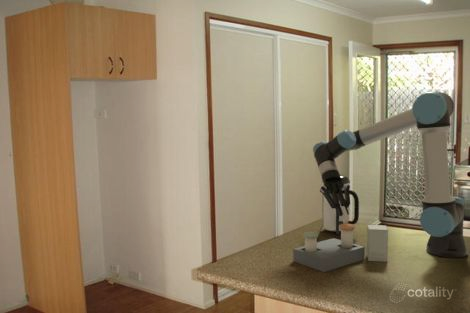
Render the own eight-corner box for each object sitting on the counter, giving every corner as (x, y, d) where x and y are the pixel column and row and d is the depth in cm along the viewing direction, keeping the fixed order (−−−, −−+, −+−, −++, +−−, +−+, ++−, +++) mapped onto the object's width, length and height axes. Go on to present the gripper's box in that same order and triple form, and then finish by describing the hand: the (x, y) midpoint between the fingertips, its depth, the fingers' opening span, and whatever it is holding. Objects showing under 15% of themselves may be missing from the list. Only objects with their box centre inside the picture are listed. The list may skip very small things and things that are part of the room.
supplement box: (387, 262, 183) (388, 229, 181) (367, 261, 184) (368, 229, 183) (385, 256, 190) (386, 225, 189) (366, 255, 191) (366, 224, 190)
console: (364, 259, 186) (364, 246, 186) (324, 272, 173) (324, 258, 172) (333, 249, 199) (333, 238, 199) (293, 261, 185) (293, 248, 185)
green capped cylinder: (321, 259, 183) (321, 233, 182) (310, 262, 180) (310, 235, 179) (310, 255, 188) (310, 230, 187) (300, 258, 184) (300, 232, 183)
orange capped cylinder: (357, 250, 187) (357, 225, 186) (347, 253, 183) (348, 227, 182) (346, 247, 191) (346, 222, 190) (336, 250, 188) (336, 225, 187)
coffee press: (320, 235, 221) (320, 171, 217) (319, 227, 236) (319, 167, 233) (358, 236, 218) (359, 172, 215) (355, 228, 233) (356, 167, 230)
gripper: (341, 178, 205) (358, 225, 191) (312, 180, 202) (328, 228, 188) (347, 168, 199) (365, 215, 185) (317, 169, 197) (333, 218, 182)
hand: (346, 222), depth 186 cm, fingers closed
